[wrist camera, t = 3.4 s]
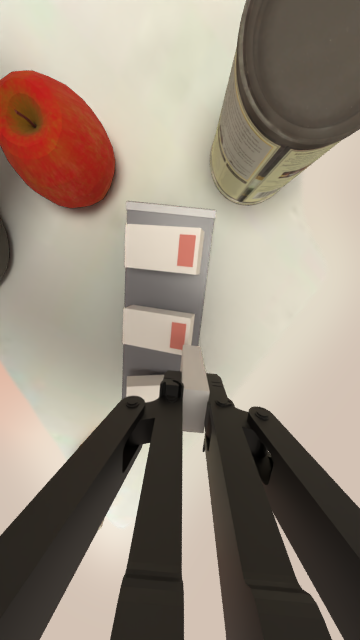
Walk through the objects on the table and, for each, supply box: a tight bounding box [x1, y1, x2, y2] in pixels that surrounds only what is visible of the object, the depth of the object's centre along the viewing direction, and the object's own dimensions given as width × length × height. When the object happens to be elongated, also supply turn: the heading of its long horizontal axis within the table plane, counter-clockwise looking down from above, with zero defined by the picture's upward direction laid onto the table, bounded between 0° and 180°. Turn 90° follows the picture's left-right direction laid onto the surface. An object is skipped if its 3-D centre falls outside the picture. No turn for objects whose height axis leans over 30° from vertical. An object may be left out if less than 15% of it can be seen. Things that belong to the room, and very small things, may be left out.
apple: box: [0, 71, 115, 208], centre depth 21 cm, size 10×10×10 cm
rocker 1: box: [124, 224, 205, 275], centre depth 22 cm, size 8×4×3 cm, turn 84°
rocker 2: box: [122, 305, 195, 355], centre depth 24 cm, size 8×4×2 cm, turn 84°
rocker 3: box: [126, 375, 164, 402], centre depth 27 cm, size 8×4×2 cm, turn 84°
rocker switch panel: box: [122, 201, 216, 399], centre depth 28 cm, size 10×28×5 cm, turn 175°
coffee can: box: [210, 0, 360, 205], centre depth 19 cm, size 10×10×14 cm
